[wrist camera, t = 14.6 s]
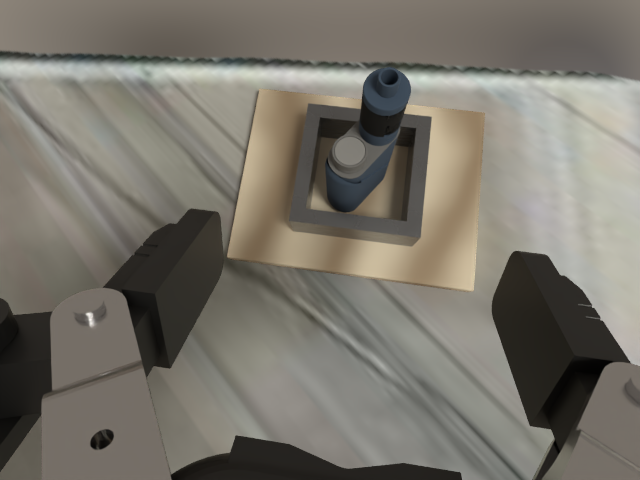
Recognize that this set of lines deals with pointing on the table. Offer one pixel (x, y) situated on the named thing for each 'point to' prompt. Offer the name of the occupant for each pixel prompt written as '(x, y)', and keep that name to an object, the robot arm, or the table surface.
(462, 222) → the mounting board
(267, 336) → the table surface
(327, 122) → the square socket
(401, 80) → the vaping device
